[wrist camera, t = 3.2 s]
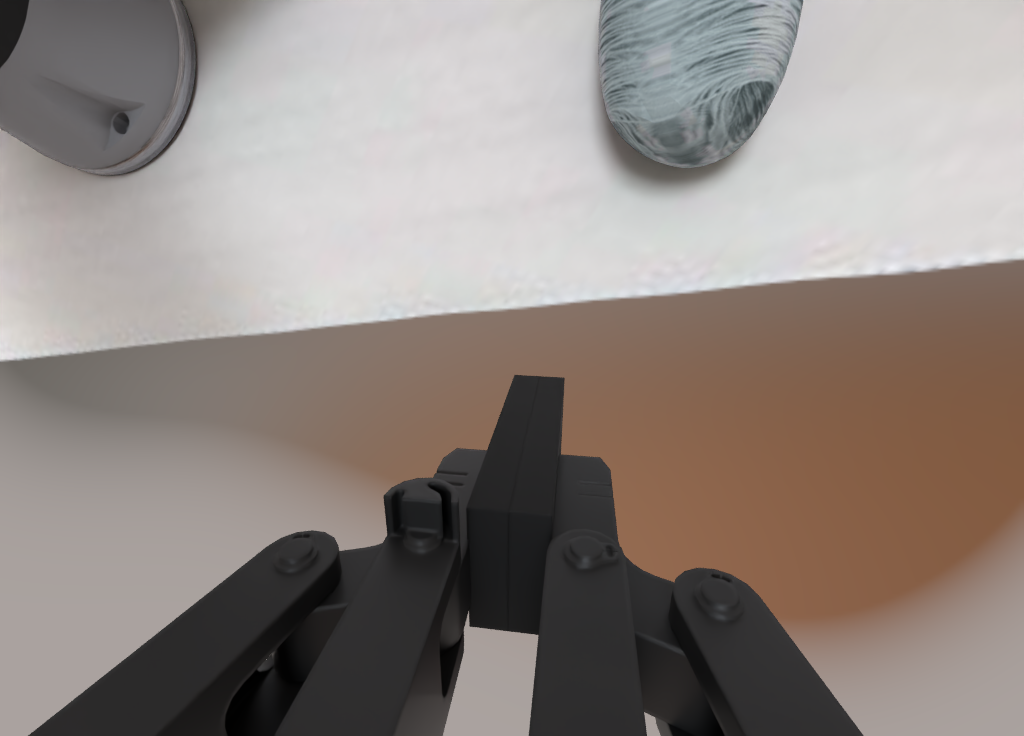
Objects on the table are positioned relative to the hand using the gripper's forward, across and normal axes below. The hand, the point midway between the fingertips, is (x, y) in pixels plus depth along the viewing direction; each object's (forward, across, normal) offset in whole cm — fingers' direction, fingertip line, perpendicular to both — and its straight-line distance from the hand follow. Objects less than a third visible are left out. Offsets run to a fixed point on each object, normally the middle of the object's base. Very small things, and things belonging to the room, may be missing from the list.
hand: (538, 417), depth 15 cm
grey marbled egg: (+19, +6, +14) cm, 24 cm away
